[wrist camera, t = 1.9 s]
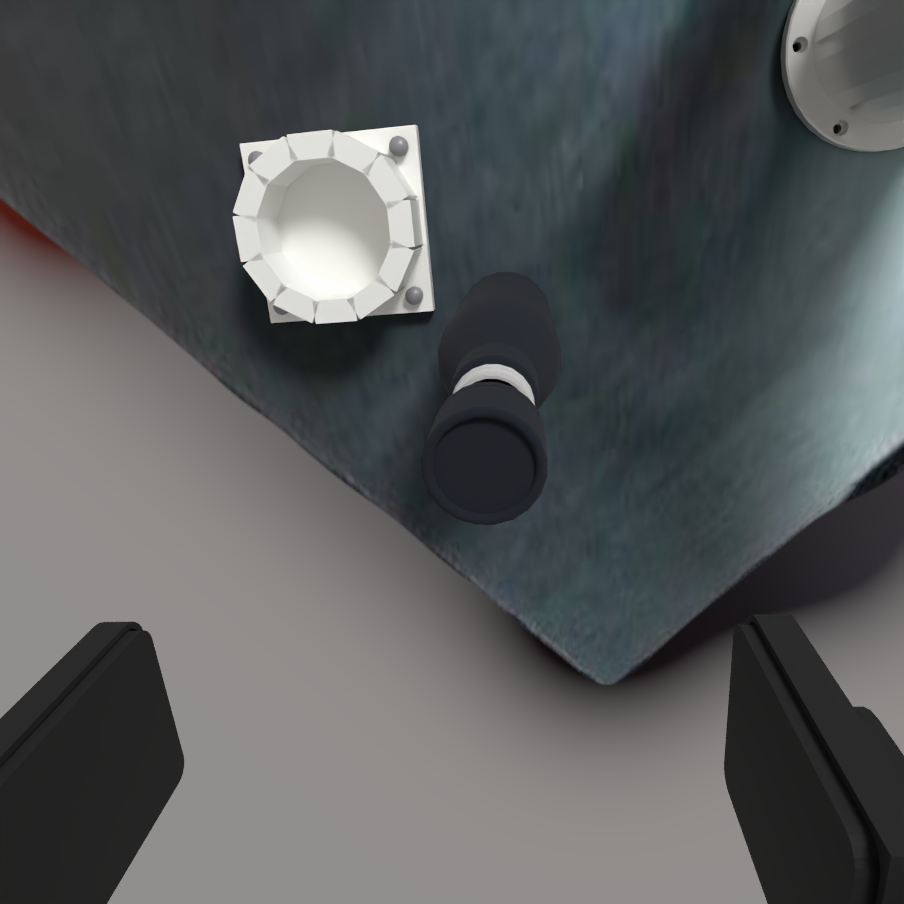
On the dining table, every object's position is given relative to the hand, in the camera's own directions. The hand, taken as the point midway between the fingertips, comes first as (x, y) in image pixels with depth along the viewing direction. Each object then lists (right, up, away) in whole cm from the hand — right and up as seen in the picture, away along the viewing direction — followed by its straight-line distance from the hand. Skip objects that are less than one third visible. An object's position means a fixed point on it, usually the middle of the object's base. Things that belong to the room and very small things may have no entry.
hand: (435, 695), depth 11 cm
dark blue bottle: (+4, +14, +38) cm, 40 cm away
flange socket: (-7, +20, +37) cm, 42 cm away
